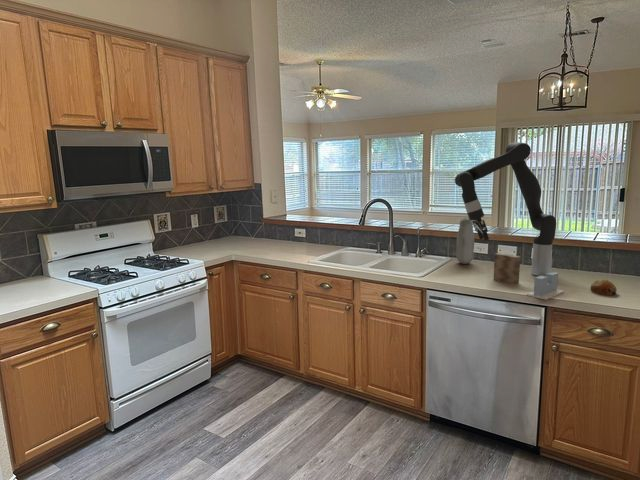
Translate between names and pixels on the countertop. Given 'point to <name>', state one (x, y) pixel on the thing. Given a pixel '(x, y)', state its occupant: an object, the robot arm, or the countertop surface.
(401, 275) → the countertop surface
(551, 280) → the notched stand
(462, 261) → the grey bottle
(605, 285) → the bread roll
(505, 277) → the walnut board
